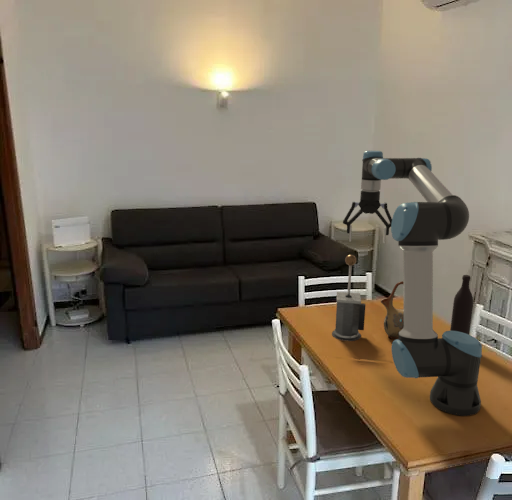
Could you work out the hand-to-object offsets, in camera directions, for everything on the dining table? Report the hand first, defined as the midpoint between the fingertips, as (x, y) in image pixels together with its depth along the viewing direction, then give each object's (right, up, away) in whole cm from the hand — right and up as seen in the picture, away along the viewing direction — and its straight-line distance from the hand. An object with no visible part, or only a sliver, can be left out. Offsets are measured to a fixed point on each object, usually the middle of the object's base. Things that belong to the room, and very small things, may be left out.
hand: (366, 242), depth 202 cm
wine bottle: (+35, -42, -4) cm, 55 cm away
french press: (-8, -39, +4) cm, 40 cm away
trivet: (-8, -39, +4) cm, 40 cm away
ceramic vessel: (+13, -40, +3) cm, 42 cm away
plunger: (-8, -28, +1) cm, 30 cm away
